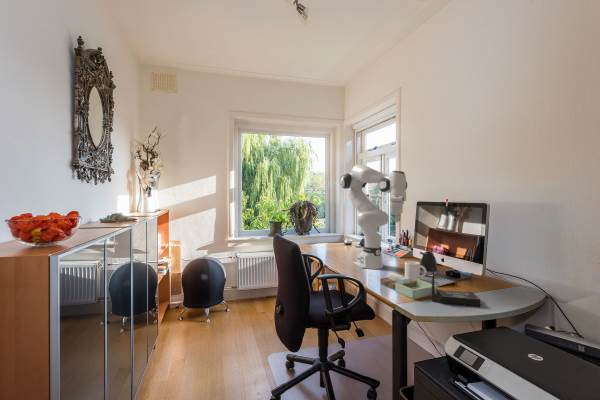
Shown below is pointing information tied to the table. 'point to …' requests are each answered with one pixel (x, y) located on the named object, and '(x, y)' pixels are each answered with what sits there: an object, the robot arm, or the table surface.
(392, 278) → the tile rear
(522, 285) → the table surface
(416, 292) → the tray
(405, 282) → the tile front
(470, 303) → the black rod on base
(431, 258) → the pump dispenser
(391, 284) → the walnut board
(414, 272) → the mug
